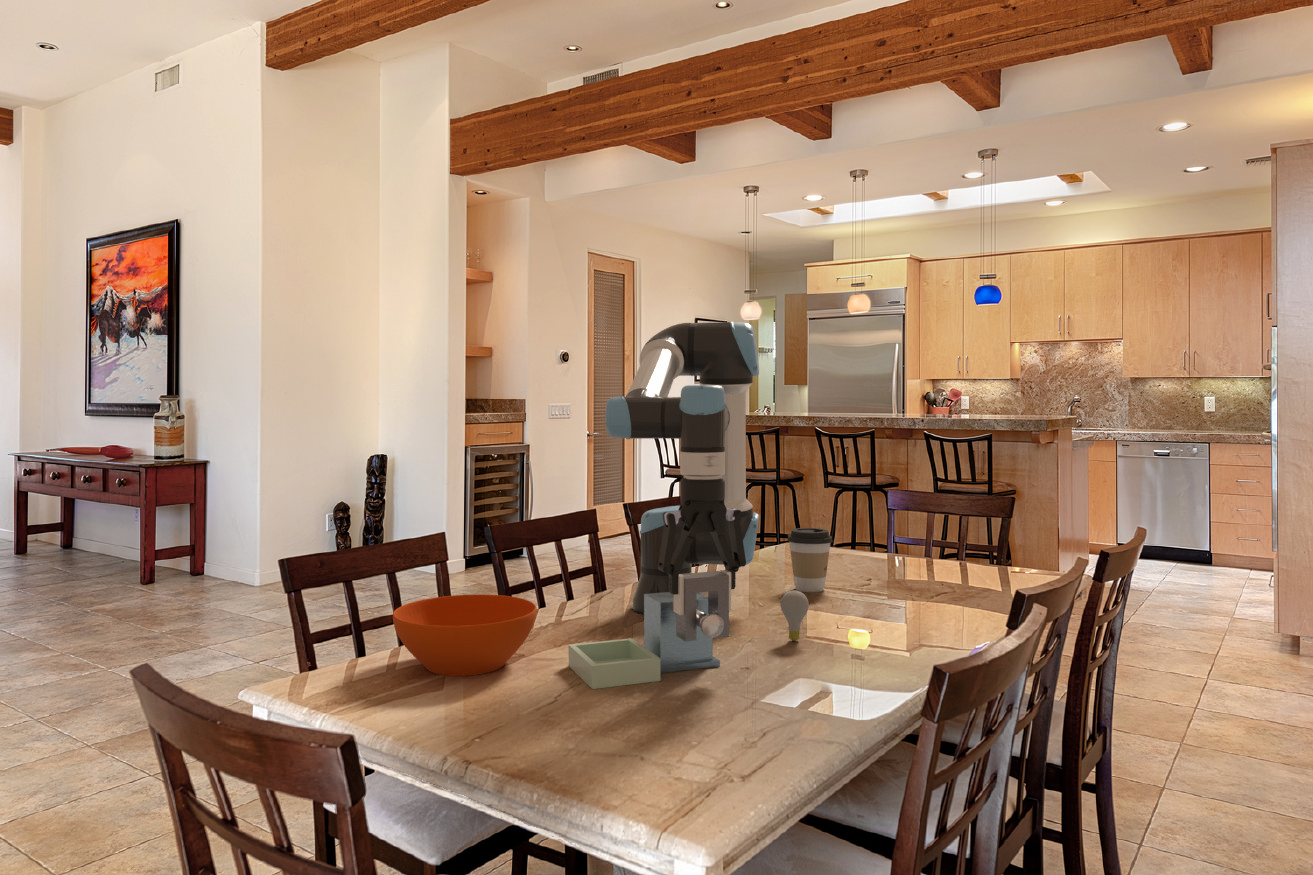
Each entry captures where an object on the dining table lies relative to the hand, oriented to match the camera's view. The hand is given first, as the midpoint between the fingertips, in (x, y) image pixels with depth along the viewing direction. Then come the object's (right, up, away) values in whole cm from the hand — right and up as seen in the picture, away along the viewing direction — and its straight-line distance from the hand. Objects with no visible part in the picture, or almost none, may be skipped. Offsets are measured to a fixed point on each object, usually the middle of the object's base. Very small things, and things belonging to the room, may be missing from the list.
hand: (702, 610), depth 151 cm
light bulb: (+19, -11, +24) cm, 33 cm away
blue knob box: (-2, -11, +5) cm, 13 cm away
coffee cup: (+31, -9, +74) cm, 81 cm away
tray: (-15, -11, +3) cm, 19 cm away
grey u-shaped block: (0, -4, 0) cm, 4 cm away
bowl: (-42, -12, +9) cm, 44 cm away
